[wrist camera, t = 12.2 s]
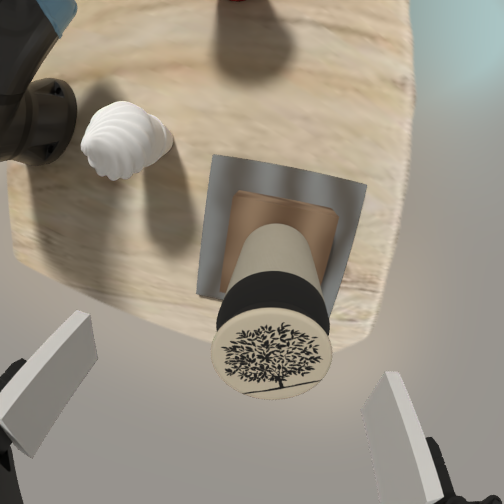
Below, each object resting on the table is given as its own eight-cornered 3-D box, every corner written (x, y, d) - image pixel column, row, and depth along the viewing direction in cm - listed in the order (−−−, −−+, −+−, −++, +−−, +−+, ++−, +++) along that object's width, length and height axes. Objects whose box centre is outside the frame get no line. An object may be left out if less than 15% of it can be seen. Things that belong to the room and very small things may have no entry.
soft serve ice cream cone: (181, 103, 34) (121, 81, 19) (193, 162, 36) (139, 173, 21) (127, 122, 35) (52, 117, 20) (139, 177, 38) (67, 198, 23)
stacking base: (197, 290, 43) (186, 311, 37) (214, 154, 36) (202, 155, 30) (328, 314, 42) (333, 338, 37) (364, 184, 35) (379, 190, 30)
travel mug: (236, 227, 33) (191, 312, 16) (306, 218, 32) (336, 298, 15) (247, 290, 35) (221, 404, 18) (313, 283, 34) (335, 397, 17)
